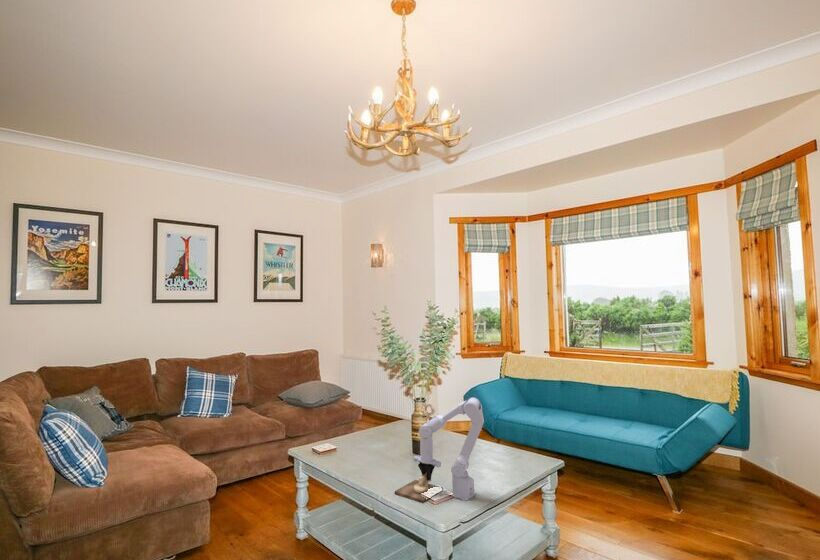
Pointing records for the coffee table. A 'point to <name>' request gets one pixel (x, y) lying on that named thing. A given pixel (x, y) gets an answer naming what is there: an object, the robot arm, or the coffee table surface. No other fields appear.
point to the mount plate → (412, 491)
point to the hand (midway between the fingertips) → (426, 479)
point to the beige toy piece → (421, 484)
